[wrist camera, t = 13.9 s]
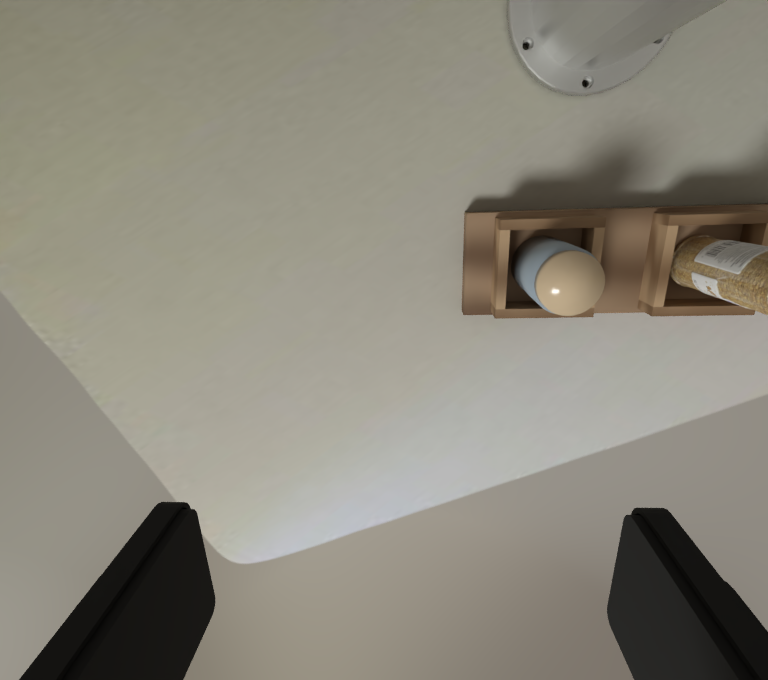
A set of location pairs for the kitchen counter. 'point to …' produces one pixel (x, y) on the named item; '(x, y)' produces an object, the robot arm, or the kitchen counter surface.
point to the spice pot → (558, 275)
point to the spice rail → (604, 256)
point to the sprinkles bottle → (724, 270)
